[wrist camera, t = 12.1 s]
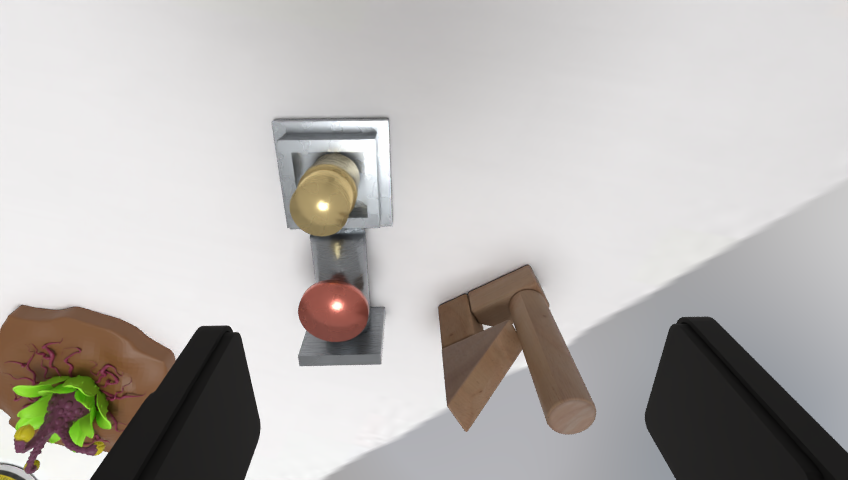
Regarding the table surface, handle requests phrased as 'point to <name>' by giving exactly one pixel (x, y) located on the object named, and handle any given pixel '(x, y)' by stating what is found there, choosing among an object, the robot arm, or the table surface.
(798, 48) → the table surface
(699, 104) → the table surface
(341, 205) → the cylinder
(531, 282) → the wooden block
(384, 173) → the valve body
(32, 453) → the plant
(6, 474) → the supplement bottle
